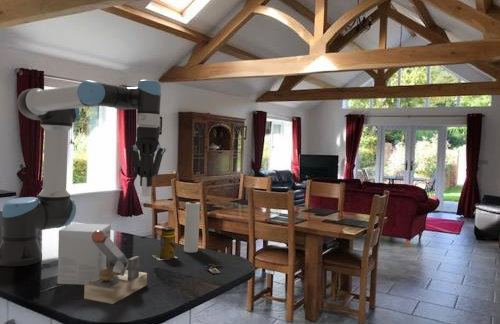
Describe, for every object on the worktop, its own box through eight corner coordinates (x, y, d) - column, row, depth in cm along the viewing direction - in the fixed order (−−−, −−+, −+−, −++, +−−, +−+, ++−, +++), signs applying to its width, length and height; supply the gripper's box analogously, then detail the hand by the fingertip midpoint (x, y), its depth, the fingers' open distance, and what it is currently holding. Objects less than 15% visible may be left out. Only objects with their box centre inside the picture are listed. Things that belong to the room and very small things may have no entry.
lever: (118, 258, 137) (89, 226, 123) (134, 261, 135) (106, 229, 121) (110, 274, 134) (80, 242, 120) (127, 276, 132) (98, 245, 118)
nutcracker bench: (120, 280, 143) (121, 249, 142) (146, 285, 140) (147, 253, 139) (84, 298, 126) (85, 263, 125) (112, 303, 123) (114, 267, 122)
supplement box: (110, 273, 150) (111, 224, 150) (98, 285, 137) (99, 231, 137) (72, 271, 150) (73, 222, 149) (56, 284, 137) (57, 230, 136)
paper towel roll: (186, 253, 181) (188, 203, 180) (181, 250, 187) (183, 201, 186) (202, 252, 185) (204, 203, 184) (197, 248, 190) (199, 201, 189)
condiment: (178, 258, 174) (179, 229, 173) (158, 260, 169) (159, 230, 168) (171, 254, 180) (172, 225, 179) (151, 256, 175) (152, 227, 175)
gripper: (125, 125, 143) (122, 195, 144) (159, 126, 139) (156, 198, 140) (137, 126, 150) (135, 193, 151) (170, 127, 146) (168, 196, 147)
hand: (145, 196), depth 145 cm, fingers closed
